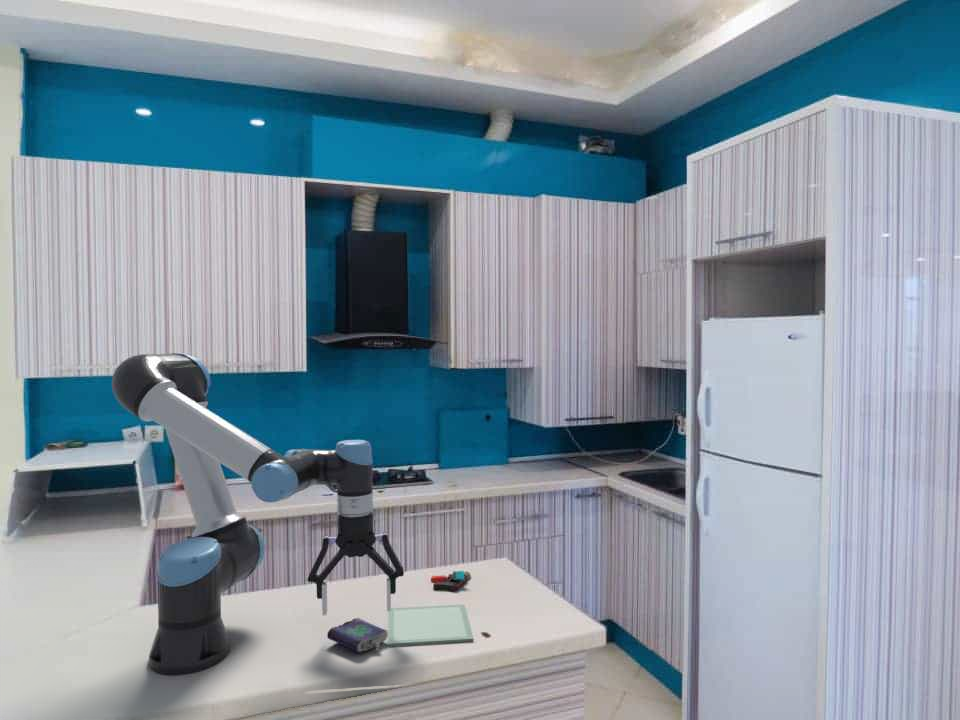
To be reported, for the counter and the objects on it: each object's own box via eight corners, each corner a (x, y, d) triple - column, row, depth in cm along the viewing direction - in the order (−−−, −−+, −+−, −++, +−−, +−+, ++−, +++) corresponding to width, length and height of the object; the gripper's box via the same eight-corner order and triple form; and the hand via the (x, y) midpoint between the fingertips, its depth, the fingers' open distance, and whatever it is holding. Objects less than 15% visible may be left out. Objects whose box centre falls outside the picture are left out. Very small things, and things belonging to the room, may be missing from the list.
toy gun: (474, 579, 171) (474, 562, 171) (457, 596, 160) (457, 577, 160) (441, 575, 174) (441, 557, 174) (422, 591, 163) (422, 572, 163)
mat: (387, 646, 132) (387, 643, 132) (388, 610, 150) (388, 608, 150) (473, 641, 135) (473, 638, 135) (464, 606, 153) (464, 604, 153)
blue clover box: (360, 615, 140) (395, 631, 133) (359, 629, 140) (394, 645, 133) (327, 628, 132) (362, 645, 126) (326, 642, 132) (361, 660, 126)
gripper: (292, 520, 130) (294, 622, 131) (414, 514, 134) (415, 613, 134) (298, 511, 138) (300, 607, 138) (413, 505, 141) (414, 599, 142)
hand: (357, 610), depth 136 cm, fingers open, 13 cm apart
